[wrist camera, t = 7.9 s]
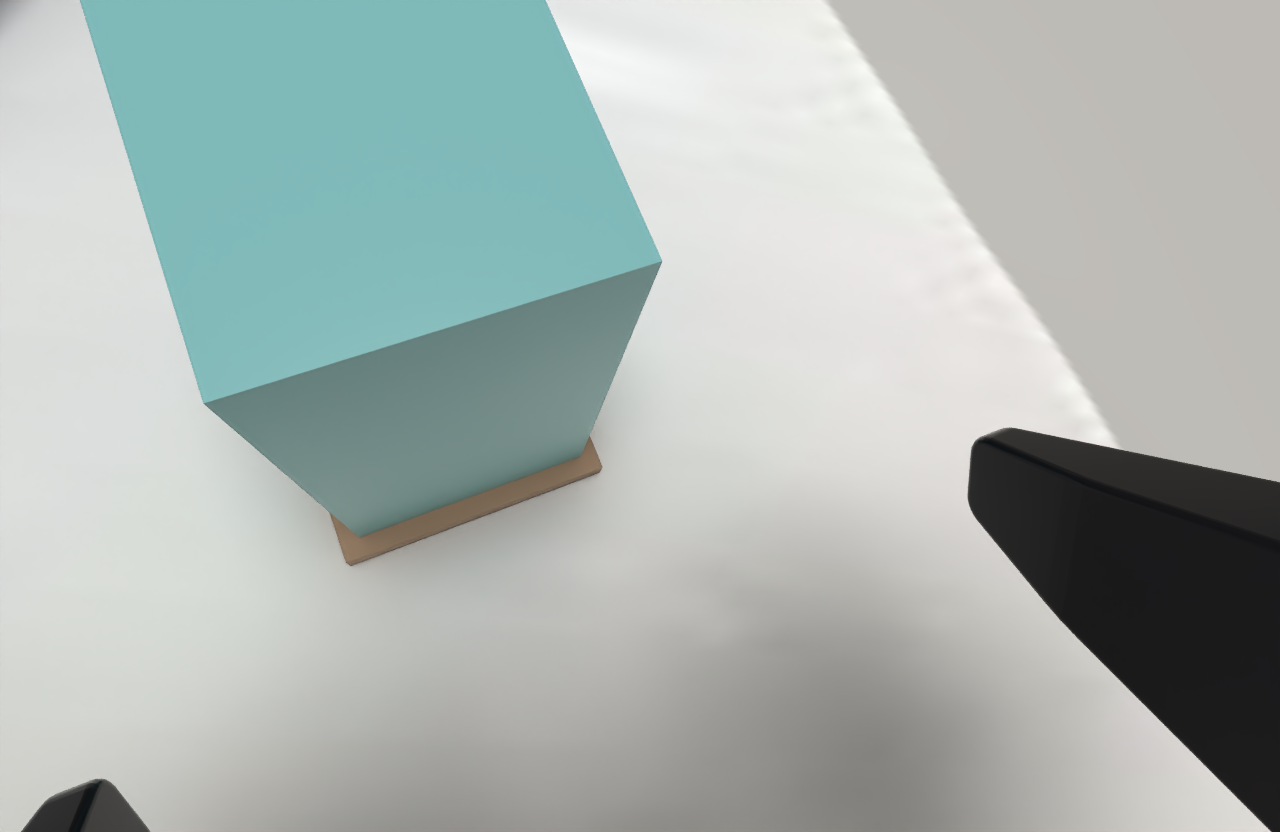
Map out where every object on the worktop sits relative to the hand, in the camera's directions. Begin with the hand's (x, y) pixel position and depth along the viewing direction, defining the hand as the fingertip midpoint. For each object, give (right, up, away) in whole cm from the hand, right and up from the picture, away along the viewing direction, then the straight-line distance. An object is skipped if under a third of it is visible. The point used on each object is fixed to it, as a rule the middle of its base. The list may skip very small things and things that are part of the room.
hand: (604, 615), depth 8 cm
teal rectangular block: (-4, +3, +11) cm, 12 cm away
